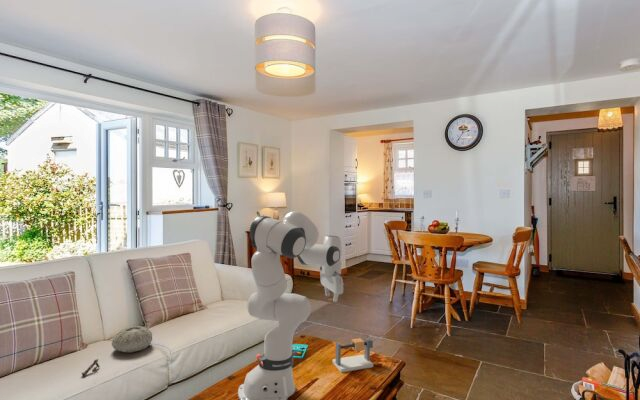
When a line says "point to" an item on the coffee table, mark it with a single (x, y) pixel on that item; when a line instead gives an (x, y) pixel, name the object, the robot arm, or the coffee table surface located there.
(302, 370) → the coffee table surface
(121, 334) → the rock
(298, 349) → the handheld gaming console
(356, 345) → the marker sleeve
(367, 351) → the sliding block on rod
